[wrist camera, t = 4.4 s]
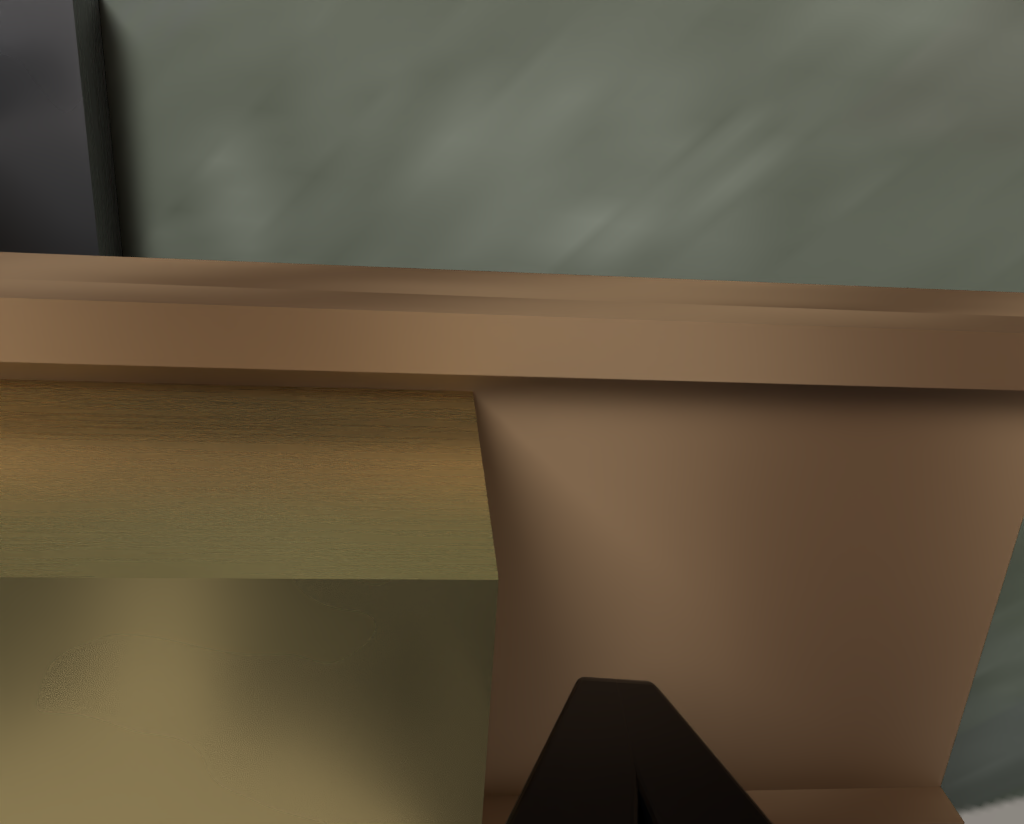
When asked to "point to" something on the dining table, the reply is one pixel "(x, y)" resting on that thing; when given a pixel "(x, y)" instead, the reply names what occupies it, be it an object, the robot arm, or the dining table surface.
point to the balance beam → (654, 484)
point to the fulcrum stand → (55, 131)
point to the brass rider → (242, 605)
